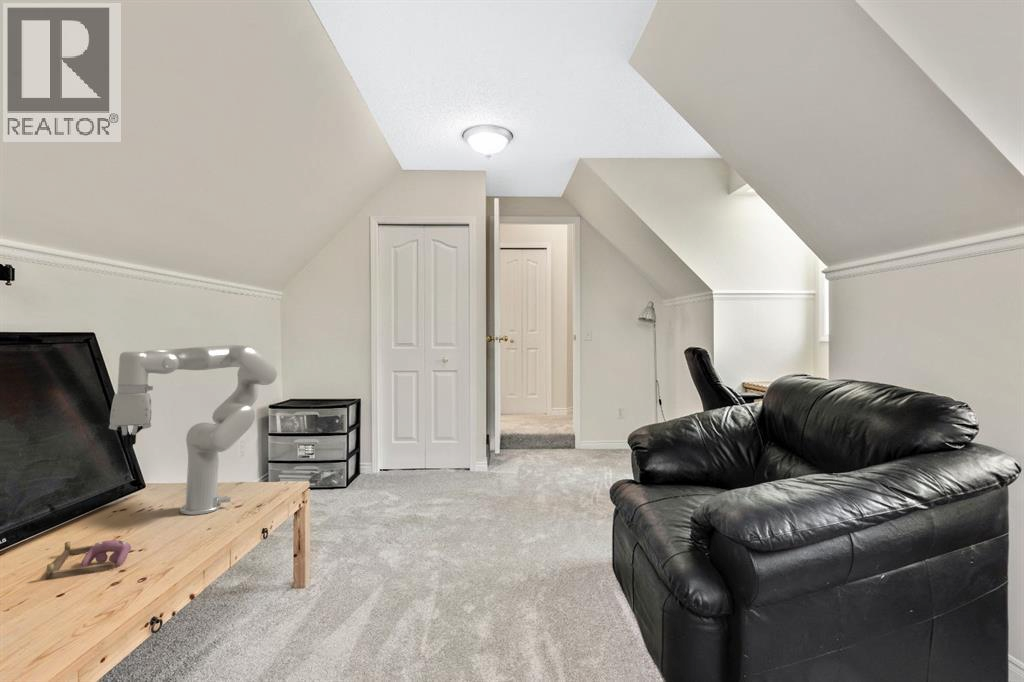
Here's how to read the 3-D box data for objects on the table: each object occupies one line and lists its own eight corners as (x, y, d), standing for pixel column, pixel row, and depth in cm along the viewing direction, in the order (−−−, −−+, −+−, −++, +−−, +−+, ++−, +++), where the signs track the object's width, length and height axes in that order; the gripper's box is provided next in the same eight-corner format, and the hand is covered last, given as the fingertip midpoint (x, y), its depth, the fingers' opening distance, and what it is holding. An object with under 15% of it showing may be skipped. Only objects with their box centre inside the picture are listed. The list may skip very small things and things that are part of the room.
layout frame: (123, 546, 142) (124, 534, 142) (112, 569, 128) (113, 556, 128) (64, 554, 135) (65, 542, 135) (45, 579, 121) (46, 566, 121)
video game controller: (128, 567, 133) (136, 540, 136) (119, 566, 129) (127, 538, 132) (87, 568, 131) (96, 541, 134) (77, 567, 127) (87, 539, 130)
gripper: (162, 388, 161) (159, 443, 160) (105, 388, 153) (101, 446, 153) (159, 390, 154) (156, 447, 154) (99, 391, 147) (96, 450, 146)
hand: (129, 446), depth 153 cm, fingers closed
